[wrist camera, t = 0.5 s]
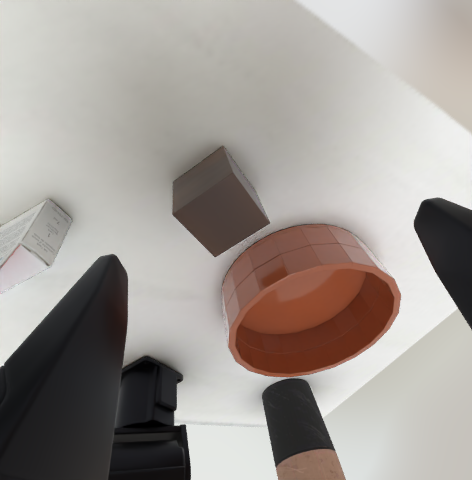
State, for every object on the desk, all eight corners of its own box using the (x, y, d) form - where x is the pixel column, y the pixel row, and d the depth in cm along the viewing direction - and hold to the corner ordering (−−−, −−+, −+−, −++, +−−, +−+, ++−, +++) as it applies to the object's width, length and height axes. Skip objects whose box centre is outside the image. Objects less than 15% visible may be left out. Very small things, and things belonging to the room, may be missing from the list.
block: (209, 222, 24) (215, 257, 20) (172, 181, 21) (172, 214, 18) (255, 191, 23) (270, 223, 19) (223, 145, 20) (233, 172, 17)
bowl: (268, 349, 36) (280, 392, 32) (189, 283, 27) (191, 330, 23) (385, 289, 32) (416, 329, 28) (338, 191, 24) (372, 227, 20)
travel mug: (308, 371, 41) (391, 596, 25) (313, 395, 45) (386, 596, 30) (255, 387, 41) (304, 619, 25) (265, 409, 46) (313, 616, 30)
